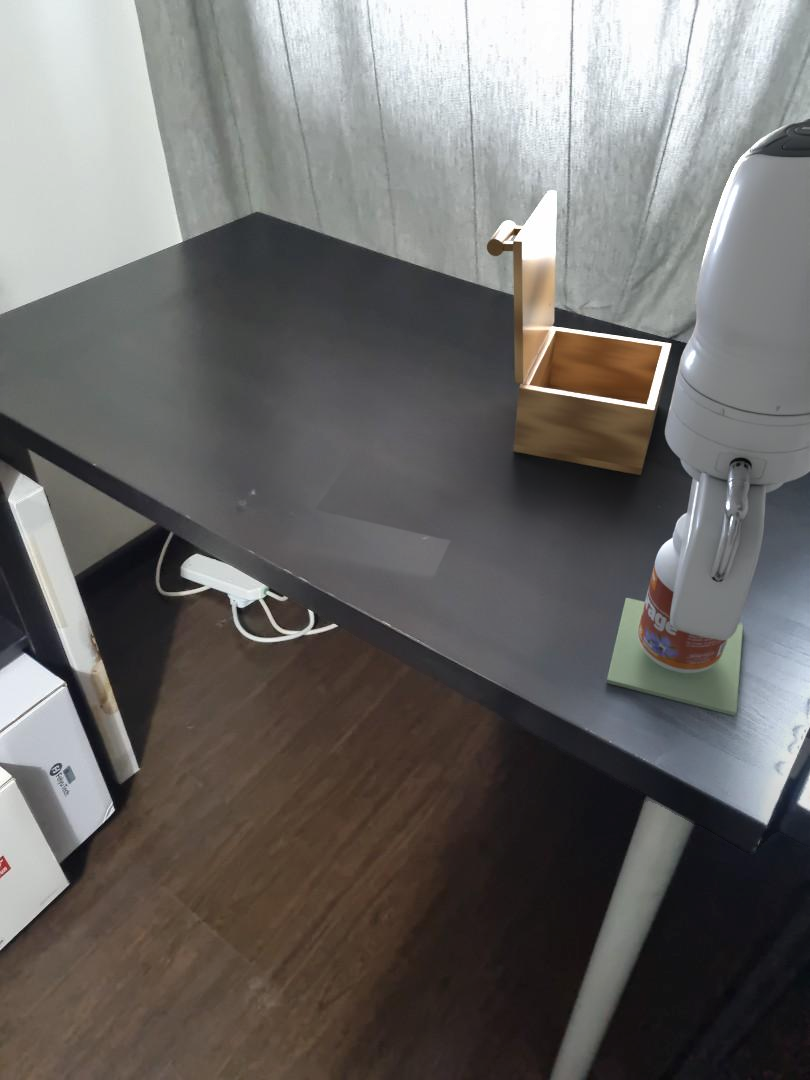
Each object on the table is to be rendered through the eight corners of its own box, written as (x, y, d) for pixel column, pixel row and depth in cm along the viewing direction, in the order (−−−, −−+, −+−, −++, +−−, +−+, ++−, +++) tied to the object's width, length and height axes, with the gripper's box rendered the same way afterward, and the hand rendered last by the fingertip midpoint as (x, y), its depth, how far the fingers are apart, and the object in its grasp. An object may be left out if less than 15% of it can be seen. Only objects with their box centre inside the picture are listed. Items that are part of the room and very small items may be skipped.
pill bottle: (623, 620, 63) (649, 506, 56) (699, 610, 64) (734, 496, 57) (655, 682, 59) (688, 567, 52) (737, 670, 59) (780, 555, 52)
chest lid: (556, 190, 79) (511, 190, 81) (522, 241, 69) (471, 240, 71) (554, 322, 87) (513, 319, 89) (523, 383, 78) (478, 380, 79)
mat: (742, 627, 64) (743, 624, 64) (735, 716, 58) (736, 712, 58) (625, 600, 67) (625, 597, 66) (606, 682, 60) (606, 679, 60)
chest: (658, 405, 89) (671, 343, 84) (640, 475, 80) (654, 410, 75) (543, 386, 93) (550, 325, 88) (513, 451, 83) (518, 387, 78)
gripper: (804, 537, 40) (735, 714, 49) (803, 349, 55) (750, 512, 64) (671, 511, 42) (628, 686, 51) (705, 336, 57) (666, 496, 66)
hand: (696, 588), depth 58 cm, fingers closed on pill bottle, 6 cm apart
